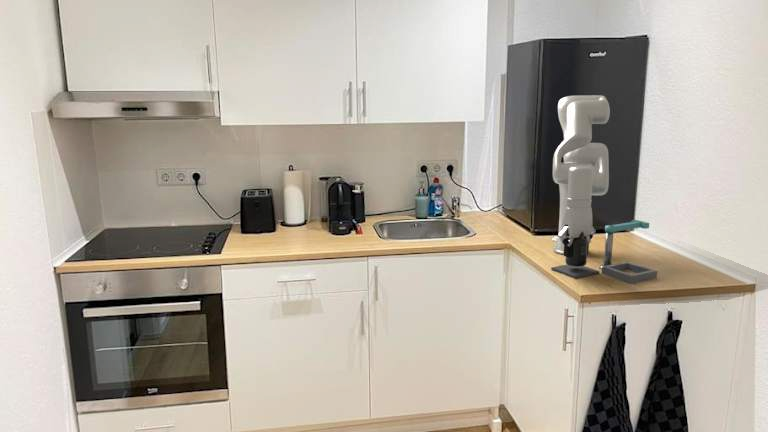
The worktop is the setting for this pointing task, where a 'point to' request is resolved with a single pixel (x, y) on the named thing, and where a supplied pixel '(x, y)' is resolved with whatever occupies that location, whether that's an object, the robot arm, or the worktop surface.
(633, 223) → the latch bar
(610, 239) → the latch post
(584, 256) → the supplement bottle
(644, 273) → the bottle holder
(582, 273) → the rubber mat
